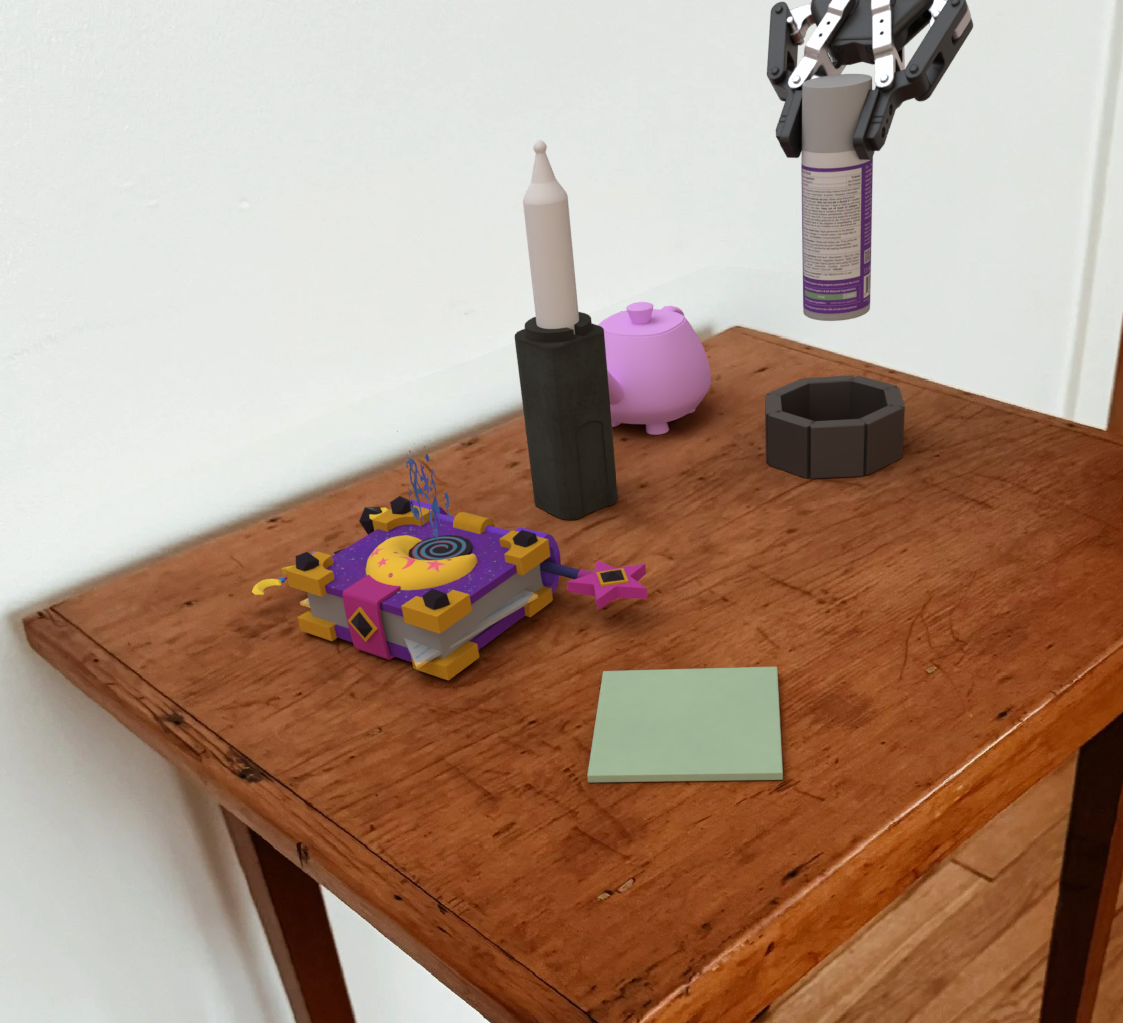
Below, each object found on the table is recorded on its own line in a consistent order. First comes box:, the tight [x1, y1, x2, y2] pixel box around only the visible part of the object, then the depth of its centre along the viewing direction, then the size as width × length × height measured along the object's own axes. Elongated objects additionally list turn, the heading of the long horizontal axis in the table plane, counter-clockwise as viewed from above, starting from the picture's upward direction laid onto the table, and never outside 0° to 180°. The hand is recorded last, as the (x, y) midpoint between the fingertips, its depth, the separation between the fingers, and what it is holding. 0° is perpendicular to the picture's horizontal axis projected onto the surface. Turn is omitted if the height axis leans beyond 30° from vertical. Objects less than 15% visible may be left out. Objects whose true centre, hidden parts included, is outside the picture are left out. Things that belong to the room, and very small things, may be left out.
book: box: [251, 430, 648, 681], centre depth 80 cm, size 14×25×12 cm, turn 54°
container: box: [800, 73, 874, 322], centre depth 88 cm, size 5×5×15 cm
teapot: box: [597, 301, 712, 436], centre depth 105 cm, size 10×15×9 cm
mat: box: [586, 666, 784, 783], centre depth 71 cm, size 10×10×1 cm
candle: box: [514, 139, 619, 521], centre depth 89 cm, size 5×5×25 cm
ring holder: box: [764, 374, 906, 480], centre depth 98 cm, size 10×10×4 cm
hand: (824, 150), depth 85 cm, fingers closed on container, 4 cm apart
